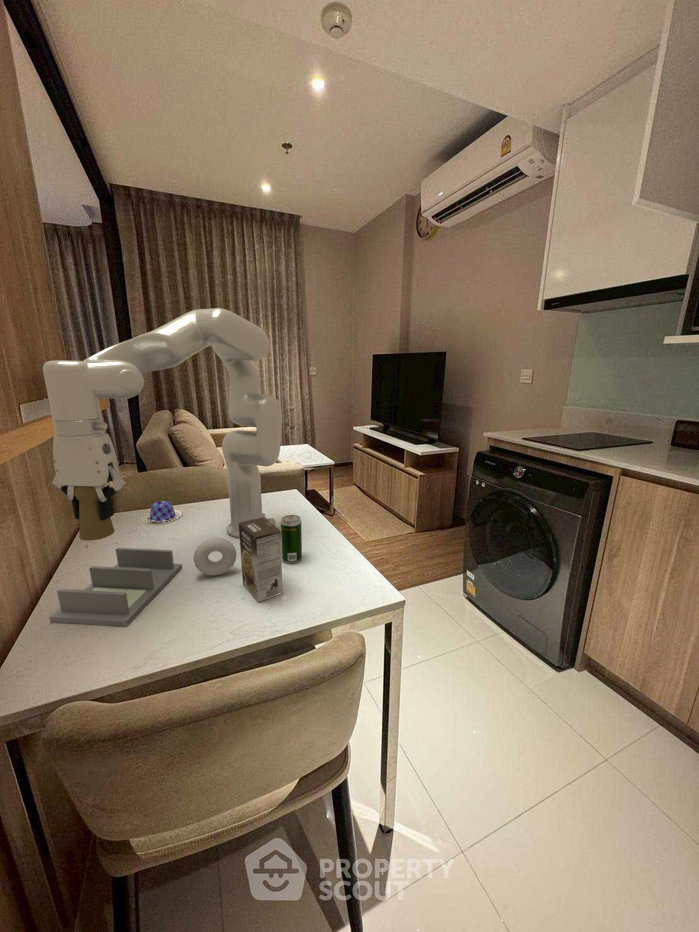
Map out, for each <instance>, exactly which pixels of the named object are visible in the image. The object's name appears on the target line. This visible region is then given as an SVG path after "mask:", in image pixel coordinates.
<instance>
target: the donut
mask: <svg viewBox="0 0 699 932" xmlns="http://www.w3.org/2000/svg"><path fill="white" fill-rule="evenodd" d="M214 552H219V553H220V554H221V555H222V556H221V557H222V558H220V560H217V561H213V560H211V559H210V558H209V557H210V554H211V553H214ZM237 554H238V553H237V549H236V547H235V546H234V544H233V542H231V541H230V540H228V539H226V538H224V537H211V538H207V539H205V540H203V541H202V542H200V544H198V546H197V547H196V549H195V550H194V553H193V563H194V565H195V567H196V569H197V570H198V571H199V572H201V573H202V574H204V575H208V576H219V575H223V574H225V573H226V572H228V571H230V570H231V569H232V568H233V567H234V564H235V562H236V559H237Z"/></svg>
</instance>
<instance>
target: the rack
mask: <svg viewBox="0 0 699 932" xmlns="http://www.w3.org/2000/svg"><path fill="white" fill-rule="evenodd" d="M115 554H116V559H117V564H115V565H114V566H99V565H98V566H97V565H91V566H90V567H89V568H88V569H89V574H90V579H91V584H89V585H88V586H87V587H86V588H84V589H72V588H70V589H69V588H59V589H58V590H57V591H56V593H57V597H58V602H59V607H60V608H59V609H57V611H55V612H54V613H52V614H51V615H50V616H49V622H50V623H57V624H58V623H60V624H61V623H62V624H75V625H76V624H77V625H93V626H95V625H96V626H107V627H109V626H110V627H125V628H127V627H128V626H129V625H130V624H131V623H132V622H133V621H134V619H136V618H137V616H138V615H140V614H141V612H142V611H143V610H144V609H145V608H146V607H147V606H148V605H149V604H150V603H151V602H152V601H153V600H154V598H155V597H157V595H159V593H160V592H161V591H162V590H163V589H164V588H165V587H167V585H168V584H169V583H170V582H171V581H172V580H173V579H174V577H176V575H177V574H178V573H179V572H180V571H181V570H182V569H183V564H182V563H174V555H173V549H158V548H157V549H153V548H133V547H117V548H115Z"/></svg>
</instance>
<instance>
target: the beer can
mask: <svg viewBox="0 0 699 932" xmlns="http://www.w3.org/2000/svg"><path fill="white" fill-rule="evenodd" d="M280 530H281V556H282V562H284V564H287V563H290V564H289V565H293V564H292V563H295V564H298V563H299V562H301V560H302V558H303V544H302V543H303V542H302V539H303V537H302V535H303V534H302V520H301V517H300V516H299V515H297V514H287V515H284V516H282V517H281V521H280ZM297 562H298V563H297Z"/></svg>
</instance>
